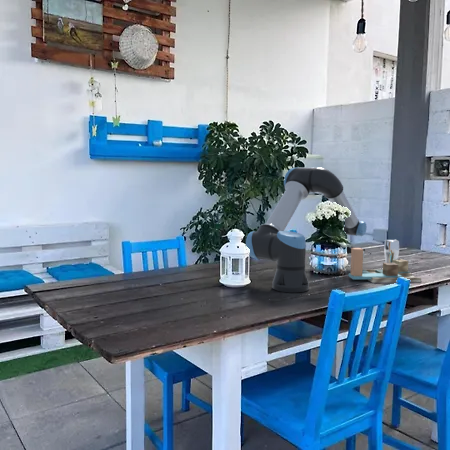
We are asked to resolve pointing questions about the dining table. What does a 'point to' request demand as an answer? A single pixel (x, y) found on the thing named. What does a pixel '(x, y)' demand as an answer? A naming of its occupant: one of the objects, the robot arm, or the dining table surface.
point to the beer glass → (391, 250)
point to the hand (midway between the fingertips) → (349, 254)
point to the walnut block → (390, 269)
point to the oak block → (401, 265)
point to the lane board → (390, 280)
